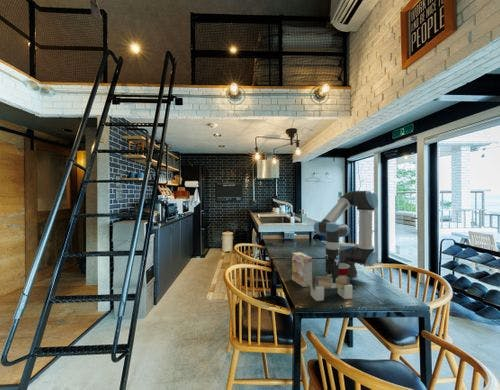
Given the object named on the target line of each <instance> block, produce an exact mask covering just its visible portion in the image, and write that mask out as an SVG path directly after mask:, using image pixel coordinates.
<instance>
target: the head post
mask: <svg viewBox="0 0 500 390" xmlns="http://www.w3.org/2000/svg"><path fill="white" fill-rule="evenodd" d="M312 282H313V281H312ZM312 282H311V286H310V296H311V297H312V298H313V299H314V301H316V302H321V301H325V289H324V286H315V288H314V287H313V286H312Z"/></svg>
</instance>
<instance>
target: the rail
mask: <svg viewBox="0 0 500 390" xmlns="http://www.w3.org/2000/svg"><path fill="white" fill-rule="evenodd" d="M331 277H332V276H327V275H321V276H318V275H317V276H316V275H314V276H313V275H312V286H313V287H314V288H315V286H324V290H325V289H332V288H331ZM350 280H351V278H350V277H348V276H346V275H343V276H338V278H336V288H335V289H338V288H344V285H351V281H350Z"/></svg>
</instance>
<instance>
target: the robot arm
mask: <svg viewBox="0 0 500 390" xmlns="http://www.w3.org/2000/svg"><path fill="white" fill-rule="evenodd" d="M378 204H379V199H378V195H377V193H376V192H375V191H372V190H351V191H348V192H346V193H345V194H342V195H341V196H340V197H339V199H337V202H336V204H335V205H334V206H333V207H332V208H331V209H330V211H329V212H328V213H327V214H326V215H325V216H324V218H323V219H322V220H320V221H316V222H314V224H313V230H314V231H313V232H315V233H317V234H323V235H325V256H324V259H325V272H326V274H327V275H326V276H332V277H331V288H330V289H337V288H336V278H338V270H339V263H344V264H348V265H350V267H349V271H348V277H349V278H350V279H351V278H356V277H358V272H357V271H358V270H357V268H356V267H357V266H356V264H359V265H362V266H365V267H373V266H375V264H376V262H377V259H378V252H377V251H376V250H375V246H373V212H374V211H375V210H376V208H378ZM350 207H356V210H357V211H358V214H359V215H358V244H357V245H356V244H353V243H343V244H340V238H341V237H346V236H348V235H349V234H350V231H351V230H350V227H349V226H348V225H347V224H344V223H341V224H339V223H338V222H337V221H338V220H339V219H340V217H342V215H343V214H344V213H345V211H346V210H348V209H349V208H350ZM337 257H338V258H337Z"/></svg>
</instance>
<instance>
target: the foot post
mask: <svg viewBox="0 0 500 390" xmlns="http://www.w3.org/2000/svg"><path fill="white" fill-rule="evenodd" d="M337 294H338V295H339V296H340V297H341V298H342V299H344V300H350V299H351V300H352V299H353V285H352V284H350V285H344V288H337Z"/></svg>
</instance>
